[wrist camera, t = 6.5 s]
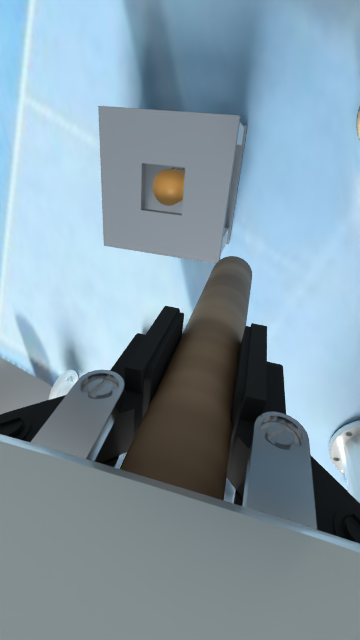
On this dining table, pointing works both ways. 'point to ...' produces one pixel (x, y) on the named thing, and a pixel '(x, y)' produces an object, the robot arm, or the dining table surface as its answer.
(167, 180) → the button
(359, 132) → the coaster
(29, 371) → the dining table surface
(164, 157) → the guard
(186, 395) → the stylus
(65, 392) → the white figurine
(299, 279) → the dining table surface
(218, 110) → the dining table surface
